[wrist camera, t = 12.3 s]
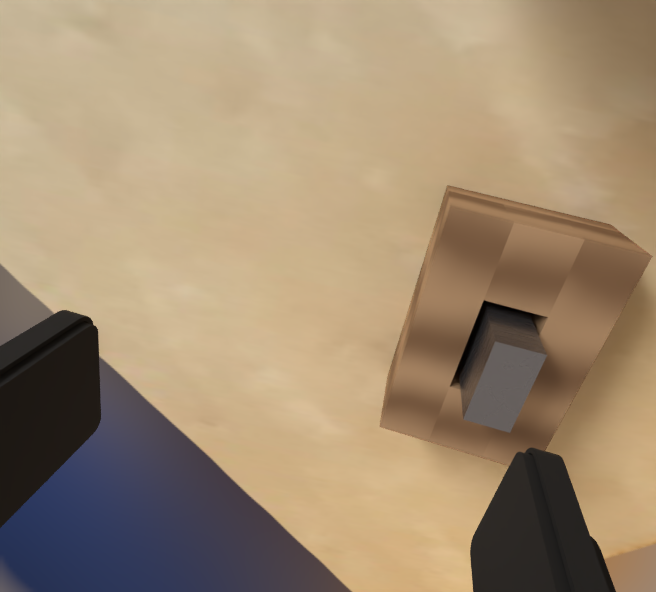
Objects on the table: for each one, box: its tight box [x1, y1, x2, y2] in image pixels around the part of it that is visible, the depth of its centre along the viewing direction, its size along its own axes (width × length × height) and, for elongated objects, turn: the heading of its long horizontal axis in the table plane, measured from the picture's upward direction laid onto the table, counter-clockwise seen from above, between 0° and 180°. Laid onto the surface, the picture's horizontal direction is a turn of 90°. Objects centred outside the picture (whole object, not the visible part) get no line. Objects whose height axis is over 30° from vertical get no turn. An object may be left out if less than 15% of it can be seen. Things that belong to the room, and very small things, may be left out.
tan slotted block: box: [380, 185, 652, 466], centre depth 35 cm, size 18×12×7 cm, turn 169°
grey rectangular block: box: [458, 300, 547, 433], centre depth 32 cm, size 6×3×9 cm, turn 169°
